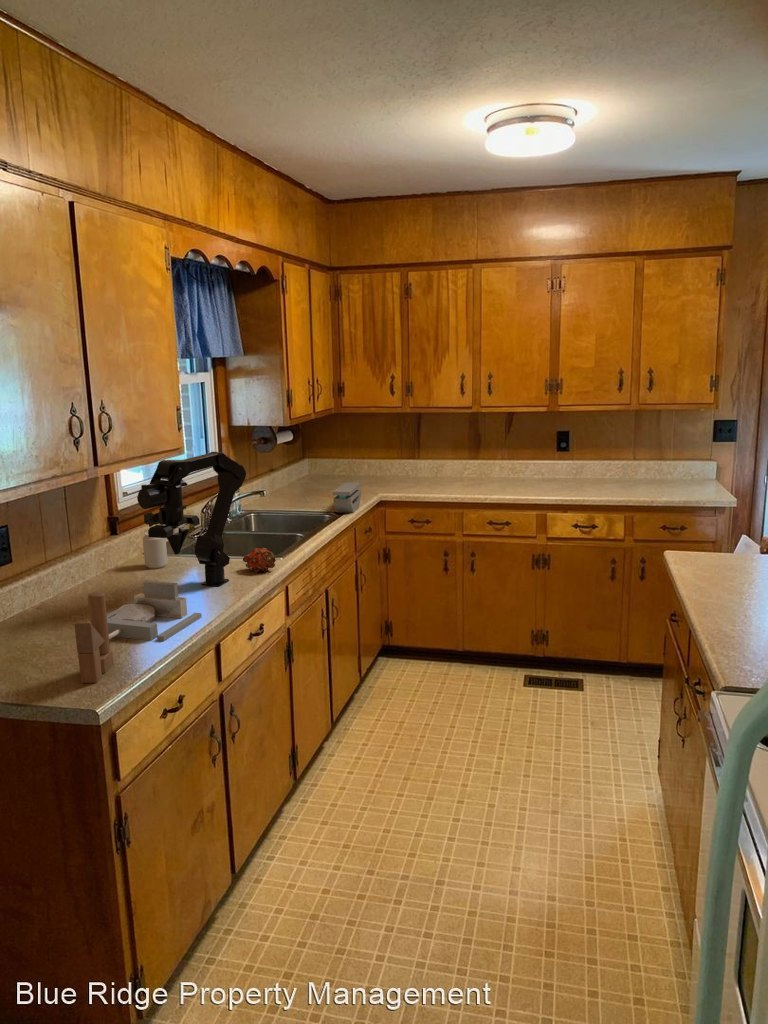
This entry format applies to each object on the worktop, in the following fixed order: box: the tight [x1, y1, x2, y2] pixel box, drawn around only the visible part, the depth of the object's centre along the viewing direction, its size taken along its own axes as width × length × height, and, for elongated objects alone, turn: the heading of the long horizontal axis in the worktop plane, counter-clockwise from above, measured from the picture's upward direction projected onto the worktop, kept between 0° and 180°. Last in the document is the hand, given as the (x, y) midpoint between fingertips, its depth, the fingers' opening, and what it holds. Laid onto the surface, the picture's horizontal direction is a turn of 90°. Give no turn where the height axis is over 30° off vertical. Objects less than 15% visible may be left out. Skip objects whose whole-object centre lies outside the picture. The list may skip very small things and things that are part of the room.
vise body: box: [107, 608, 203, 642], centre depth 195 cm, size 29×25×4 cm
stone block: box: [111, 603, 155, 623], centre depth 202 cm, size 12×5×10 cm
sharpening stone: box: [332, 481, 362, 514], centre depth 342 cm, size 25×8×11 cm, turn 170°
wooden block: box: [73, 591, 114, 684], centre depth 168 cm, size 4×11×18 cm, turn 0°
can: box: [142, 531, 169, 570], centre depth 255 cm, size 8×8×12 cm
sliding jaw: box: [133, 580, 188, 619], centre depth 207 cm, size 3×15×9 cm, turn 73°
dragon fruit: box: [242, 547, 277, 573], centre depth 248 cm, size 8×8×12 cm
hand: (176, 554), depth 221 cm, fingers closed
